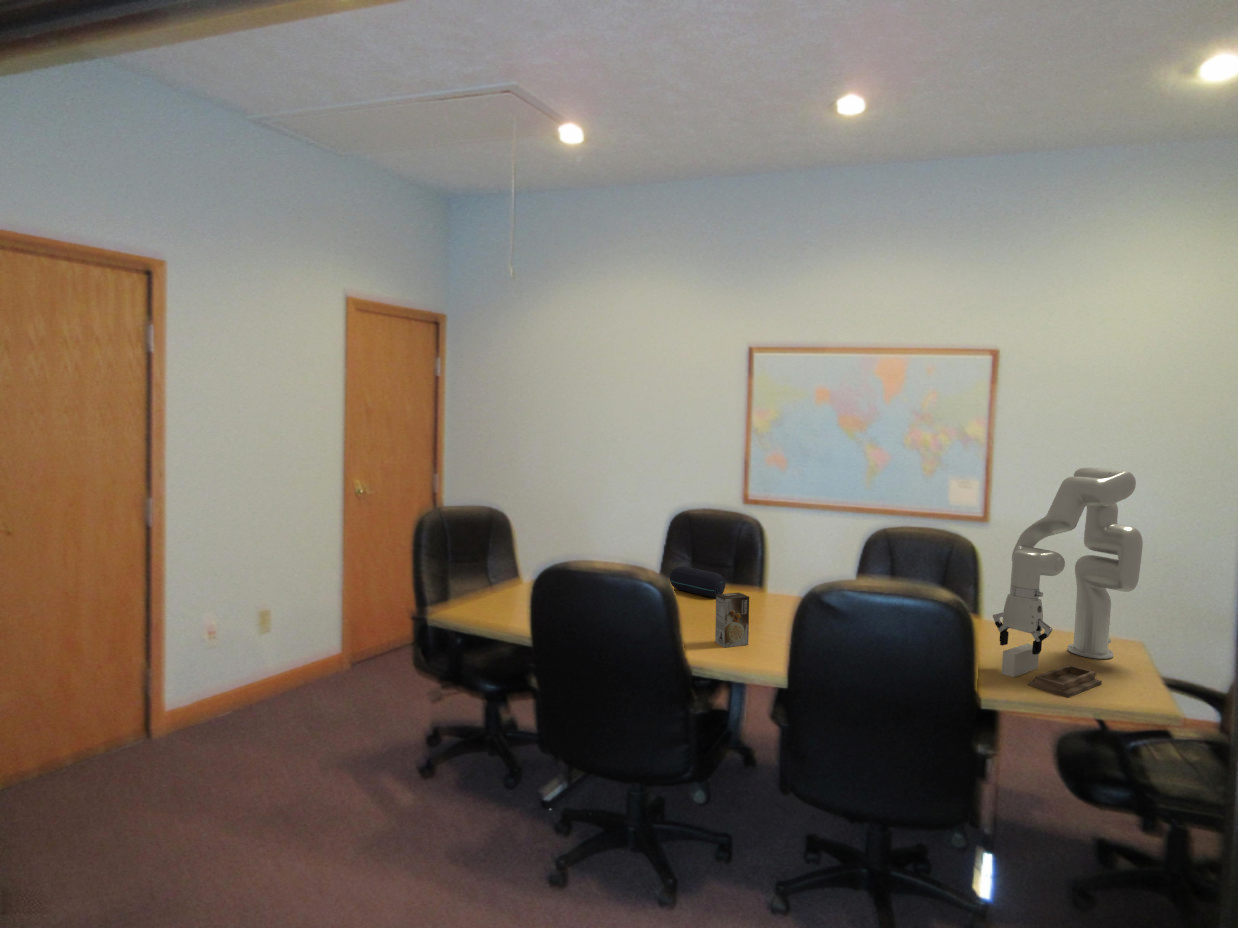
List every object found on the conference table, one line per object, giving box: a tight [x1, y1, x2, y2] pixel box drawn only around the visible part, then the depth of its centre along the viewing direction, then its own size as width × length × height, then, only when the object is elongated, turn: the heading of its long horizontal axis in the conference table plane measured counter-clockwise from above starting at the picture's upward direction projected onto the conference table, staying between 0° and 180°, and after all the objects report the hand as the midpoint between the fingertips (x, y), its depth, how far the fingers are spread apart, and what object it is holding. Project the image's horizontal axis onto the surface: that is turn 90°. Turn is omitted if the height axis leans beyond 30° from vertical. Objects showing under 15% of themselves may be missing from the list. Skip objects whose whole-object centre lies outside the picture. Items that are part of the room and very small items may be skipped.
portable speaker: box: [669, 565, 727, 599], centre depth 320 cm, size 25×10×10 cm, turn 45°
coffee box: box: [714, 592, 750, 648], centre depth 253 cm, size 9×6×16 cm
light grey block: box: [1001, 643, 1040, 678], centre depth 232 cm, size 14×4×7 cm, turn 125°
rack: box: [1027, 664, 1103, 698], centre depth 222 cm, size 19×11×3 cm, turn 125°
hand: (1019, 649), depth 232 cm, fingers open, 9 cm apart
